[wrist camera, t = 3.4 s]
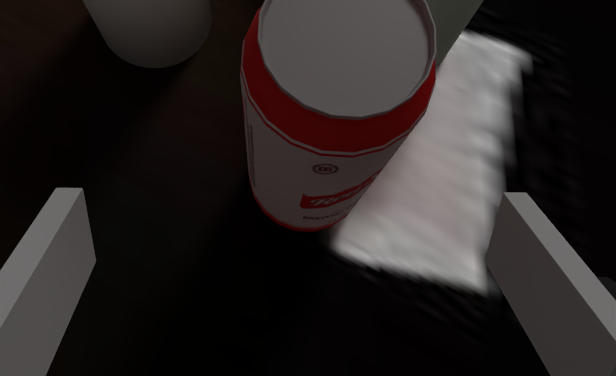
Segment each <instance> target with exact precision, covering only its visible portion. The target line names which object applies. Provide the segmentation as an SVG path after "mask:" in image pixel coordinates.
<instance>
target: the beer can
mask: <svg viewBox="0 0 616 376" xmlns="http://www.w3.org/2000/svg"><path fill="white" fill-rule="evenodd" d="M436 53H437V48H436V26H435V23H434V20H433V18H432V15H431V12H430V9H429V7H428V4H427V2H426V1H425V0H265V1H264V3H263V6H262V7H261V8H260V9H259V10H258V11H257V12H256V14H255V16H254V19H253V21H252V23H251V25H250V27H249V30H248V32H247V34H246V36H245V38H244V41H243V45H242V58H241V71H240V77H241V89H242V101H243V112H244V124H245V136H246V147H247V159H248V171H249V181H250V185H251V189H252V192H253V196H254V199H255V200H256V202H257V203H258V205H259V206H260V208H261V209H262V211H263V212H264V214H266V215H267V216H268V217H269V218H271V219H272V220H273V221H274V222H276V223H277V224H278V225H281V226H284V227H286V228H289V229H292V230H294V231H309V232H314V231H317V230H321V229H325V228H329V227H331V226H333V225H334V224H336V223H337V222H339V221H340V220H342V219H343V218H345V217H346V216H347V215H348V213H349V212H350V211H351V210H352V208H353V207H354V206H355V205H356V203H357V202H358V201H359V199H360V198H361V197H362V195H363V194H364V193H365V192H366V190H367V189H368V188H369V186H370V185H371V184H372V182H373V181H374V180H375V178H376V177H377V176H378V174H379V173H380V172H381V171H382V169H383V168H384V167H385V165H386V164H387V163H388V161H389V160H390V159H391V157H392V156H393V155H394V154H395V152H396V151H397V150H398V148H399V147H400V146H401V144H402V143H403V142H404V140H405V139H406V138H407V137H408V135H409V134H410V133H411V131H412V130H413V129H414V127H415V126H416V125H417V123H418V122H419V121H420V119H421V118H422V117H423V116H424V114H425V112H426V110H427V107H428V104H429V101H430V98H431V95H432V92H433V89H434V86H435V80H436V75H435V56H436Z"/></svg>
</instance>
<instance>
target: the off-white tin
mask: <svg viewBox="0 0 616 376" xmlns="http://www.w3.org/2000/svg"><path fill="white" fill-rule="evenodd" d="M83 2H84V4H85V6H86V7H87V9H88V11H89V13H90V15H91V16H92V18H93V20H94V22H95V24H96V26H97V27H98V29H99V31H100V33H101V35H102V36H103V38H104V40H105V42H106V43H107V45H108V46H109V48H110V49H111V50H112V51H113V52H114V53H115V54H116V55H117V56H119V57H120V58H122V59H123V60H125V61H127V62H129V63H131V64H134V65H136V66H140V67H145V68H164V67H169V66H173V65H176V64H179V63H181V62H183V61H185V60H187V59H188V58H190V57H191V56H192V55H194V54H195V53H196V52H197V51H198V50H199V49H200V48H201V46H202V45H203V44H204V42H205V41H206V39H207V37H208V34H209V31H210V28H211V10H210V4H209V0H83Z"/></svg>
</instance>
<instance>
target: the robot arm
mask: <svg viewBox="0 0 616 376" xmlns="http://www.w3.org/2000/svg"><path fill="white" fill-rule="evenodd" d="M95 262H96V258H95V253H94V247H93V242H92V236H91V231H90V225H89V220H88V214H87V209H86V204H85V198H84V193H83V188H56V189H55V190H54V192H53V193H52V195H51V196H50V198H49V199H48V201H47V202H46V204H45V205H44V207H43V208H42V210H41V211H40V213H39V214H38V216H37V217H36V219H35V220H34V222H33V223H32V224H31V226H30V227H29V229H28V230H27V232H26V233H25V235H24V236H23V238H22V239H21V241H20V242H19V244H18V245H17V247H16V248H15V250H14V251H13V253H12V254H11V256H10V257H9V259H8V260H7V262H6V263H5V265H4V266H3V268H2V269H1V271H0V376H46V373H47V371H48V369H49V367H50V364H51V362H52V360H53V357H54V355H55V353H56V351H57V348H58V346H59V344H60V342H61V339H62V337H63V335H64V333H65V330H66V328H67V326H68V323H69V321H70V319H71V317H72V314H73V312H74V310H75V308H76V305H77V303H78V301H79V299H80V296H81V294H82V292H83V289H84V287H85V285H86V283H87V280H88V278H89V276H90V274H91V271H92V269H93V267H94V265H95ZM485 262H486V264H487V265H488V267H489V269H490V271H491V272H492V274H493V276H494V278H495V279H496V281H497V283H498V285H499V286H500V288H501V290H502V292H503V293H504V295H505V297H506V299H507V300H508V302H509V304H510V306H511V307H512V309H513V311H514V313H515V314H516V316H517V318H518V319H519V321H520V323H521V325H522V326H523V328H524V330H525V332H526V333H527V335H528V337H529V339H530V340H531V342H532V344H533V346H534V347H535V349H536V351H537V353H538V354H539V356H540V358H541V360H542V361H543V363H544V365H545V367H546V368H547V370H548V372H549V374H550V375H551V376H616V283H615V282H614V281H612V280H611V279H609V278H608V277H596V276H595V275H594V274H593V273H592V271H591V270H590V269H589V268H588V267H587V265H586V264H585V263H584V262H583V260H582V259H581V258H580V257H579V256H578V254H577V253H576V252H575V251H574V250H573V248H572V247H571V246H570V245H569V244H568V242H567V241H566V240H565V239H564V238H563V236H562V235H561V234H560V233H559V232H558V230H557V229H556V228H555V227H554V225H553V224H552V223H551V222H550V221H549V219H548V218H547V217H546V216H545V215H544V213H543V212H542V211H541V210H540V209H539V207H538V206H537V205H536V204H535V203H534V201H533V200H532V199H531V198H530V197H529V195H528V194H527V193H505V192H504V193H503V196H502V200H501V203H500V207H499V211H498V214H497V218H496V222H495V225H494V229H493V233H492V236H491V240H490V243H489V247H488V251H487V254H486V258H485Z"/></svg>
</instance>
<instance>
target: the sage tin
mask: <svg viewBox="0 0 616 376" xmlns="http://www.w3.org/2000/svg"><path fill="white" fill-rule="evenodd" d="M425 1H426V2H427V4H428V7H429V9H430V12H431V15H432V18H433V20H434V23H435V26H436V48H437V53H436V56H435V67H436V66H437V65H438V64H439V63H440V62H441V61H442V60H443V59H444V57H445V56H446V54H447V53H448V52H449V50H450V49H451V47H452V46H453V44H454V43H455V41H456V40H457V38H458V37H459V35H460V34H461V32H462V31H463V30H464V28H465V27H466V25H467V24H468V22H469V21H470V19H471V18H472V16H473V15H474V13H475V12H476V10H477V9H478V8H479V6H480V5H481V3H482V2H483V0H425Z"/></svg>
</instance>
